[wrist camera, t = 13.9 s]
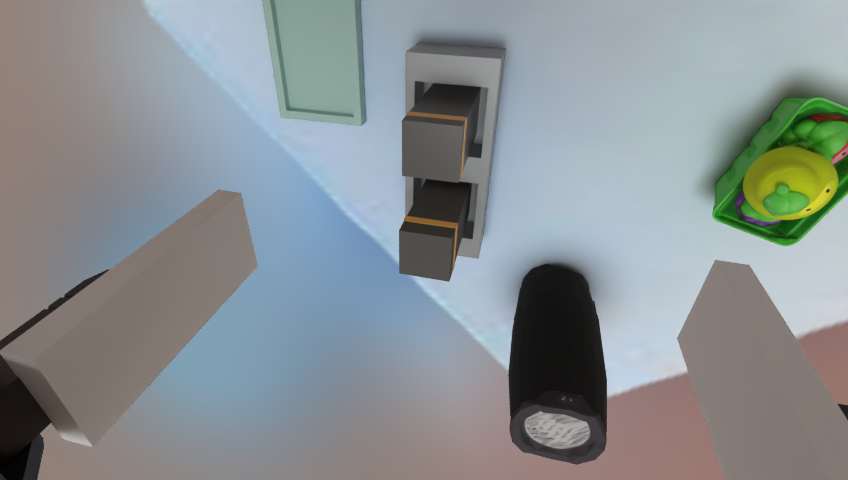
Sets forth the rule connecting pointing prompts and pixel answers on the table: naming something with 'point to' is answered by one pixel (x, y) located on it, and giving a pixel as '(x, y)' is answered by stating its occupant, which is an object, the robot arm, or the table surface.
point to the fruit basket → (788, 172)
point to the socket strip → (483, 144)
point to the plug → (434, 229)
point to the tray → (317, 59)
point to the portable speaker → (557, 369)
